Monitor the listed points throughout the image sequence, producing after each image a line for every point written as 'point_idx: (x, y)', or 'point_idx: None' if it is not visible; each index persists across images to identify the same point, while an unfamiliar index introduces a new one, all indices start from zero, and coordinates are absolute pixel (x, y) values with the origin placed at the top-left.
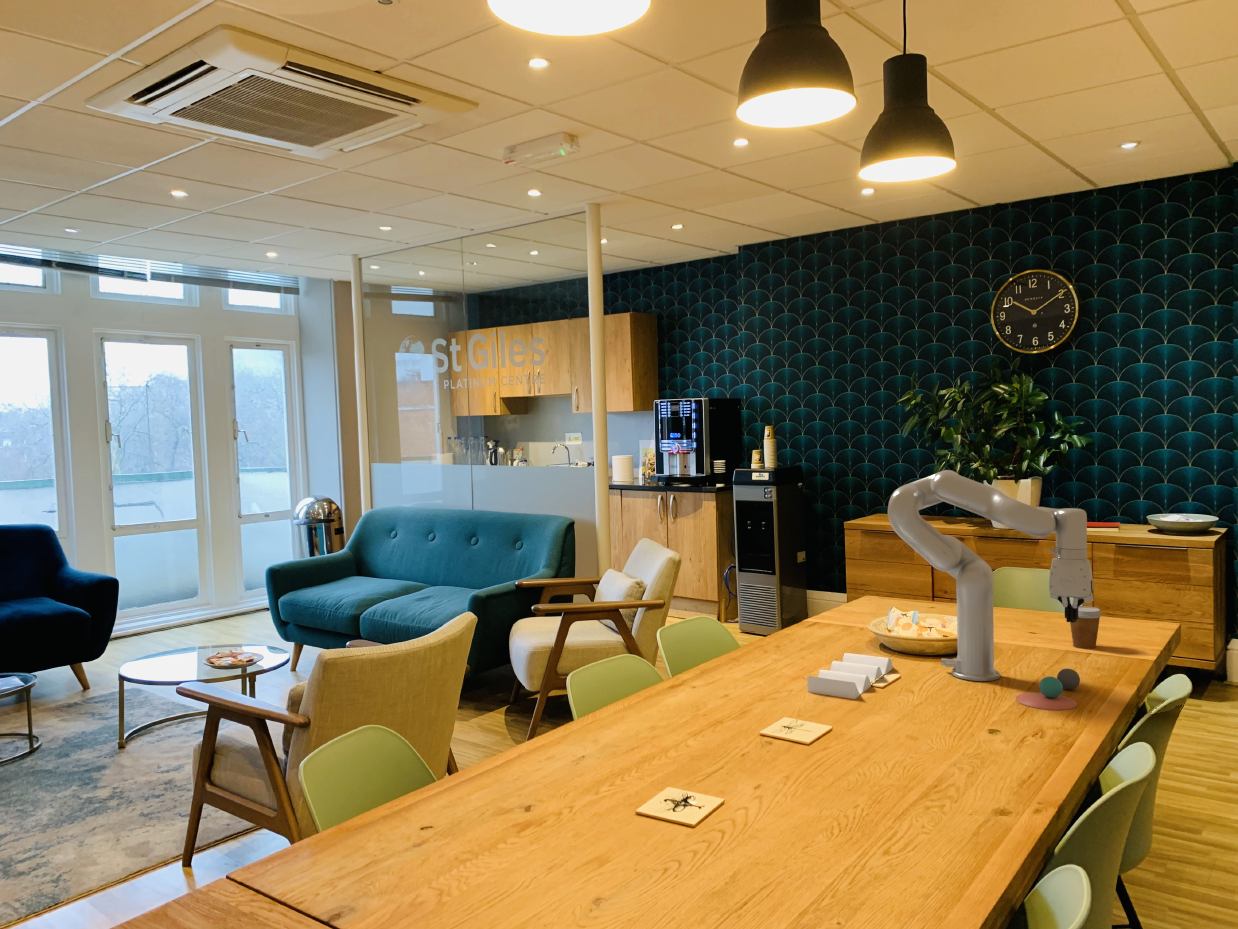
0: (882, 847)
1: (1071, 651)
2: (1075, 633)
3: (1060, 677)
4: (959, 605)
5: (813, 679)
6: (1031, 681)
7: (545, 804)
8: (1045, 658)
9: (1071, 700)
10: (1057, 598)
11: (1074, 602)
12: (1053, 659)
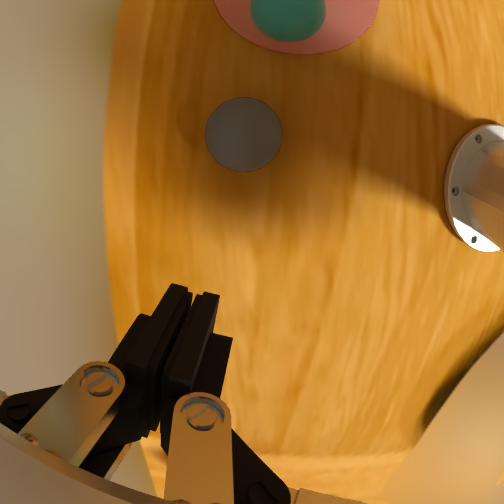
0: None
1: (268, 451)
2: None
3: (267, 106)
4: None
5: None
6: (360, 181)
7: None
8: (319, 405)
9: (227, 12)
10: (291, 501)
11: (80, 414)
12: (302, 404)
